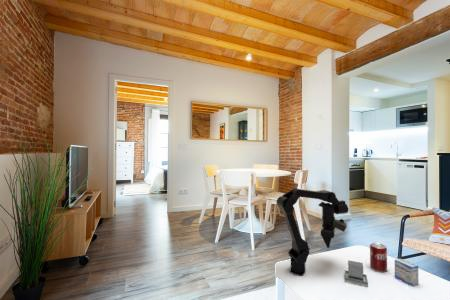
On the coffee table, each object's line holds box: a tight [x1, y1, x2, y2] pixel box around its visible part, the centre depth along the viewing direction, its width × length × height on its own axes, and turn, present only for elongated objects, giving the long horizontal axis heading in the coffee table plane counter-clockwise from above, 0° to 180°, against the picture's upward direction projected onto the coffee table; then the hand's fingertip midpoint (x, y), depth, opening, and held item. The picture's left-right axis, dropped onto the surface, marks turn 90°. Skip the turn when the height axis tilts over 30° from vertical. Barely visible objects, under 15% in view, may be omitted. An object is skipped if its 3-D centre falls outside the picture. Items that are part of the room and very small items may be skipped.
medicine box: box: [394, 258, 420, 287], centre depth 106 cm, size 8×4×9 cm, turn 21°
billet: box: [347, 259, 364, 281], centre depth 106 cm, size 6×4×7 cm, turn 62°
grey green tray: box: [344, 270, 369, 288], centre depth 106 cm, size 9×7×2 cm
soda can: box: [369, 242, 388, 273], centre depth 116 cm, size 7×7×12 cm
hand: (328, 244), depth 119 cm, fingers open, 9 cm apart
